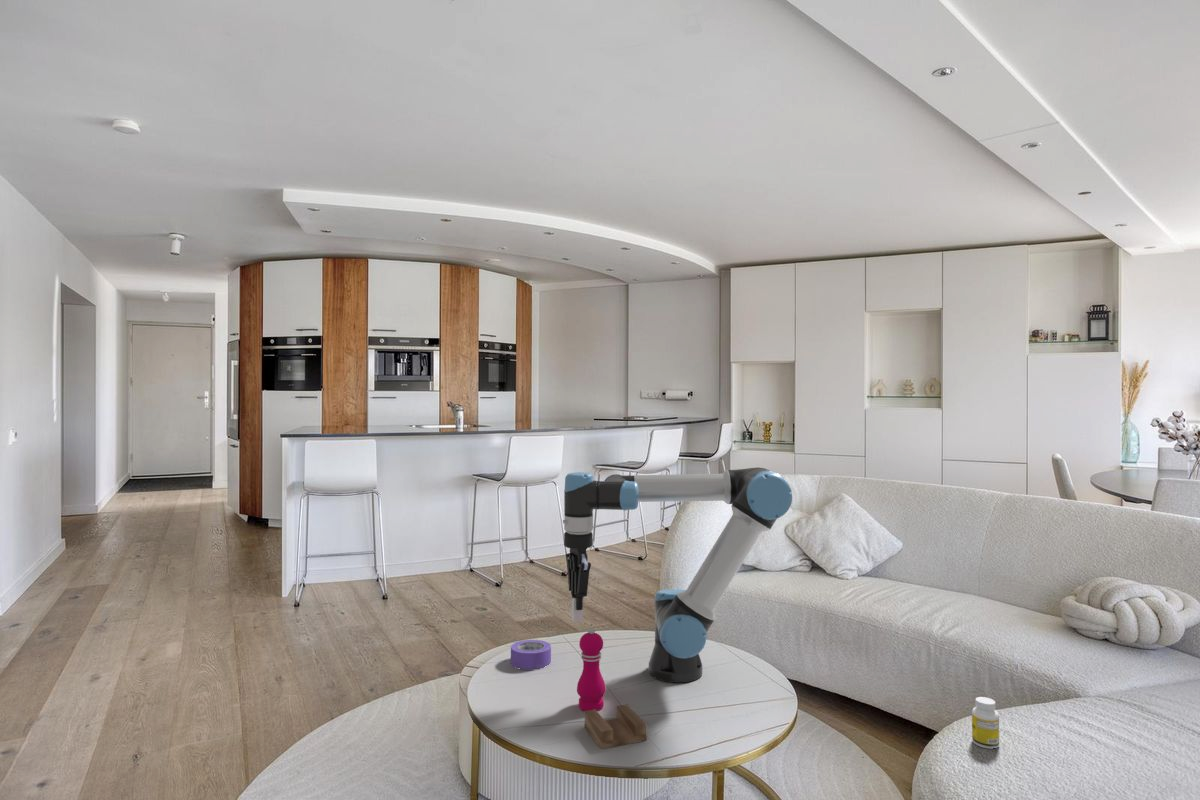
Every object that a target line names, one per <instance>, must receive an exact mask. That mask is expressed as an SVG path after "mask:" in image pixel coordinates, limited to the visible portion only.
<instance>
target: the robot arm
mask: <svg viewBox="0 0 1200 800" xmlns="http://www.w3.org/2000/svg"><path fill="white" fill-rule="evenodd" d="M564 479H565V480H564V490H563V491H564V492H563V493H564V495H563V497H564V504H563V505H564V510H563V511H564V519H562V524H564V527H563V528H564V529H563V530H564V531H565V532H564V533H563V546H564V547H565V548H568V549H569V552H568V553H566V554H565V557H566V564H567V565H566V567H567V568H566V569H567V579H568V580H567V581H568V591H569V592H570V595H571V622H573V623H579V622H584V597H587V596H588V587H589V578H590V570H591V567H592V563H591V562H590V561H588V554H587V549H589V548H591V547H593V540H594V538H593V534H594V533H593V532H592V531H594V516H593V515H594V513H593V511H594V510H608V511H609V510H612V511H613V510H617V511H619V510H620V511H630V510H631V511H633V510H636V509H637V508H638V507H639V503H640V502H641V503H642V502H643V503H644V502H646V503H647V502H649V503H652V502H656V503H657V502H659V503H661V502H663V503H664V502H715V501H716V502H717V501H718V502H721V501H723V502H724V503H725V504H726V505H731V511H732V515H731V517H730V518H729V520H728V521H727V523H726V525H725V527H723V530H722V531H721V533H720V535H719V536H718V537H717V540H716V541H715V542H714V544H713V546H712V547H711V549H710V550H709V553H708V554H707V555H706V557H705V559H704V560H703V562H702V564H701V565H700V567H699V569H698V570H697V572H696V574H695V575H694V577H693V578H692V580H691V582H690V583H689V585H688V587H687V589H676V588H674V589H671V588H670V589H662V590H658V591H656V593H655V595H654V600H653V603H654V646H653V649H652V652H651V656H650V659H649V661H648V673H649V675H650V676H652V677H653V678H654V679H657V680H660V681H663V682H668V683H689V682H693V681H696V680H698V679H700V678H701V677H702V676H703V663H702V659H701V657H700V653H701V652H702V650H703V649H704V648H705V645H706V642H707V634H708V632H709V629H710V628H711V626H712V625H713V623H714V622H715V620H716V616H715V609H716V607H717V605H718V604H719V602H720V600H721V599H722V597H723V595H724V593H725V592H726V591H727V589H728V588H729V585H730V584H731V582H732V581H733V579H734V577H735V576H736V574H737V573H738V571H739V569H740V568H741V566H742V565H743V563H744V561H745V560H746V558H747V556H748V555H749V553H750V551H752V548H753V547H754V545H755V543H756V542H757V540H758V539H759V537H760V536H761V534H762V533H763V532H767V531H770V530H771V529H772V528H773V526H774V524H775V523H776V521H777V519H780V518H781V517H783V516H785V514H786V513H787V512H788V511H789V510H790V508H791V506H792V503H793V491H792V488H791V486H790V484H789V482H788V481H787V480H786V479H785V478H784V477H783V476H781V475H780V473H777V472H775V471H772V470H770V469H767V468H765V467H748V468H740V469H739V468H737V469H725V470H724V472H723V473H693V474H692V473H689V474H688V473H687V474H685V473H684V474H679V473H678V474H645V475H644V474H639V475H636V474H635V475H629V474H627V475H621V474H620V473H619V474H618V473H614V474H611V475H609V476H607V477H606V478H605V479H604V480H603V481H602V480H595V479H594V475H593V474H592V473H591V472H582V471H581V472H568V474H567V473H566V476H565V478H564Z"/></svg>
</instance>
